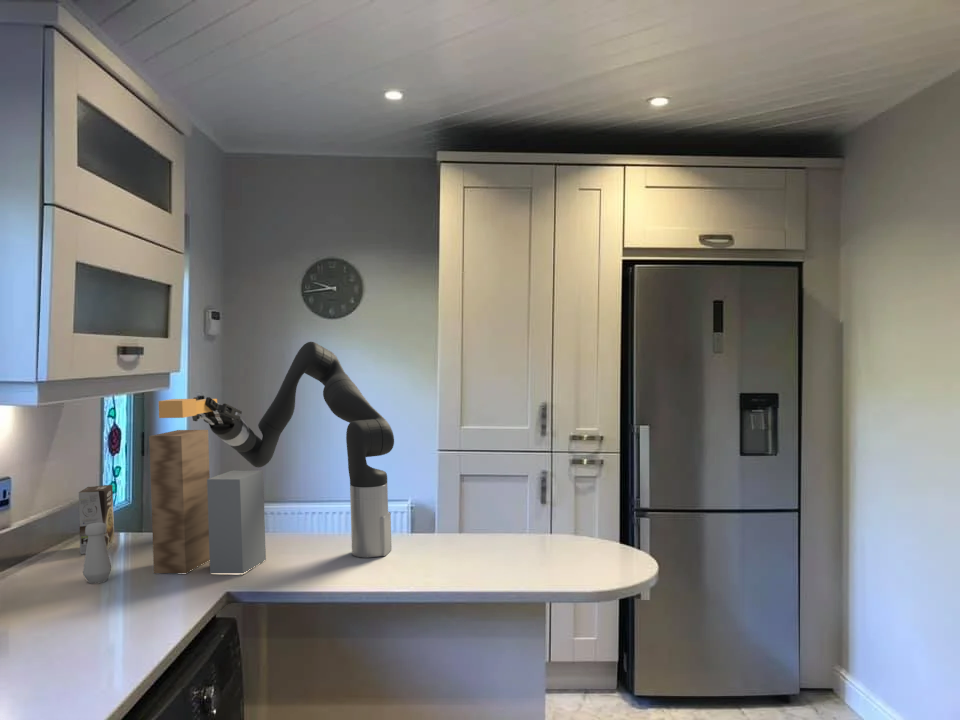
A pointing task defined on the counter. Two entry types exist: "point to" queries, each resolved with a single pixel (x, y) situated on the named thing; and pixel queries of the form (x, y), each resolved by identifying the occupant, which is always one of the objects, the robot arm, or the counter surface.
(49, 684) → the counter surface
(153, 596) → the counter surface
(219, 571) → the block
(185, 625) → the counter surface
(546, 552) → the counter surface
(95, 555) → the salt shaker
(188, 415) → the orange block
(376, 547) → the robot arm
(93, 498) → the coffee box
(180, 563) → the tall wooden block
